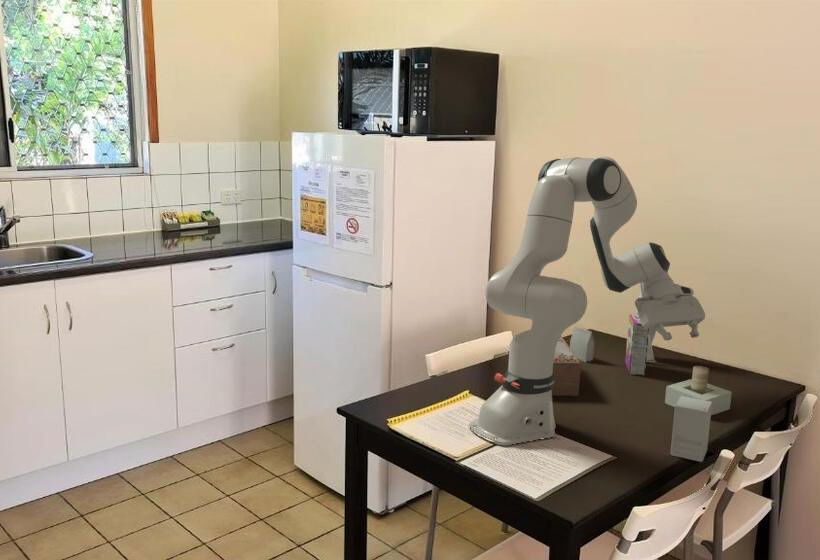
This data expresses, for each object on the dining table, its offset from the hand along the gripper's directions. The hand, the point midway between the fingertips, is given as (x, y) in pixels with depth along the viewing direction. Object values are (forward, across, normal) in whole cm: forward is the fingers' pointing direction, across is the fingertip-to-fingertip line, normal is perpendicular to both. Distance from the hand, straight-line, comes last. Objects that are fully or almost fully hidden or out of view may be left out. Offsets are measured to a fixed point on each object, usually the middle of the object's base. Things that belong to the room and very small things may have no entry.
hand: (682, 338), depth 206 cm
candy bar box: (-3, +2, +28) cm, 28 cm away
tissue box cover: (-4, -30, +28) cm, 41 cm away
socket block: (+18, 0, +6) cm, 19 cm away
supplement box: (+34, -22, -10) cm, 42 cm away
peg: (+18, 0, +6) cm, 19 cm away
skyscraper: (-9, +12, +34) cm, 37 cm away
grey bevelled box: (-13, -8, +38) cm, 41 cm away
